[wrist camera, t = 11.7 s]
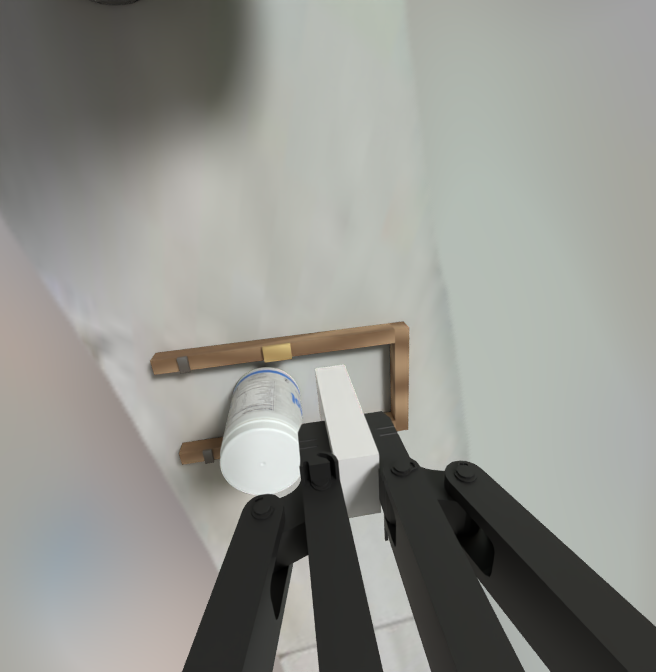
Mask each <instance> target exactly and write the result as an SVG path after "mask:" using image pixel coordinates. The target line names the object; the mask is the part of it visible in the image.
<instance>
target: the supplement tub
mask: <svg viewBox="0 0 656 672" xmlns="http://www.w3.org/2000/svg"><path fill="white" fill-rule="evenodd" d="M302 424H303V417H302V408H301V398H300V391H299V388H298V385H297V383H296V382H295V380H294V379H293V378H292V377H291V376H290V375H289V374H288V373H286V372H284V371H283V370H280V369H277V368H272V367H262V368H257V369H254V370H251V371H249V372H248V373H246V374H245V375H244V376H243V377H242V378H241V379H240V380H239V381H238V383H237V384H236V386H235V389H234V393H233V397H232V401H231V405H230V410H229V414H228V419H227V423H226V427H225V432H224V436H223V441H222V446H221V450H220V469H221V472H222V474H223V476H224V478H225V479H226V481H227V482H228V483H229V484H230V485H231V486H233V487H234V488H236V489H237V490H239V491H242V492H244V493H247V494H252V495H262V494H274V493H277V492H280V491H282V490H284V489H286V488H288V487H290V486H291V485H292V484H293V483H295V482H296V481H297V479H298V478H299V477H300V469H299V466H300V453H299V442H298V431H299V429H300V427H301V425H302Z"/></svg>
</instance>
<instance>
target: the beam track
mask: <svg viewBox="0 0 656 672" xmlns="http://www.w3.org/2000/svg"><path fill="white" fill-rule="evenodd" d="M383 344H390V383H391V412H385V414H386V415H387V416H389V417H390V418H391V420H392V422H393V425H394V427H395V429H396V431H402V430H408V397H409V327H408V326H407V325H406V324H405V323H404V322H396V323H388V324H380V325H372V326H364V327H356V328H349V329H341V330H333V331H325V332H317V333H309V334H301V335H293V336H285V337H277V338H270V339H262V340H254V341H246V342H238V343H230V344H222V345H214V346H206V347H199V348H191V349H183V350H175V351H167V352H159V353H155V355H154V356H153V358H152V359H151V360H150V362H151V366H152V369H153V372H154V375H156V374H164V373H171V372H179V371H180V373H187V372H190V371H191V370H194V369H202V368H209V367H217V366H224V365H232V364H240V363H247V362H255V361H262V360H264V361H265V362H273V361H280V360H288V359H292V357H293V356H300V355H308V354H315V353H323V352H330V351H338V350H346V349H353V348H361V347H368V346H376V345H383ZM222 441H223V437H218V438H212V439H205V440H198V441H192V442H185V443H183V444H182V446H181V449H180V452H179V456H180V459H181V462H182V465H183V464H189V463H196V462H202V461H205V464H206V463H212V462H214V460H215V459H220V450H221V446H222Z"/></svg>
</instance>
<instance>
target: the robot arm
mask: <svg viewBox="0 0 656 672" xmlns="http://www.w3.org/2000/svg"><path fill="white" fill-rule="evenodd" d="M91 1H94V2H98V3H103V4H111V5H120V4H128V3H132V2H136V1H138V0H91ZM315 374H316V383H317V393H318V402H319V411H320V418H321V421H319V422H312V423H306V424H302V425H301V427H300V429H299V431H298V442H299V453H300V466H299V469H300V476H301V482H300V484H299V486H298V487H297V488H296V489H295V490H294V491H293V492H292V493H290V494H288V495H286V496H284V497H282V498H279V497H277V496H276V495H272V494H262V495H258V496H256V497H254V498H252V499H251V500H250V501H249V502H248V503H247V504H246V505H245V507H244V509H243V511H242V513H241V516H240V519H239V521H238V524H237V527H236V529H235V532H234V535H233V537H232V540H231V543H230V545H229V548H228V551H227V553H226V556H225V559H224V561H223V564H222V567H221V569H220V572H219V575H218V577H217V580H216V583H215V585H214V588H213V591H212V593H211V596H210V599H209V602H208V604H207V607H206V609H205V612H204V615H203V617H202V620H201V623H200V625H199V628H198V631H197V633H196V636H195V639H194V641H193V644H192V647H191V649H190V652H189V655H188V657H187V660H186V663H185V665H184V668H183V671H182V672H272V671H273V666H274V660H275V655H276V650H277V645H278V640H279V635H280V629H281V624H282V619H283V614H284V609H285V604H286V598H287V593H288V588H289V583H290V578H291V572H292V567H293V563H294V562H296V561H298V560H299V559H301V558H303V557H305V556H307V555H308V556H309V567H310V577H311V588H312V599H313V609H314V620H315V631H316V641H317V652H318V663H319V672H383V669H382V664H381V660H380V655H379V651H378V646H377V642H376V637H375V633H374V629H373V624H372V620H371V615H370V611H369V606H368V602H367V597H366V593H365V588H364V584H363V580H362V575H361V571H360V566H359V562H358V557H357V553H356V548H355V544H354V540H353V535H352V531H351V526H350V522H349V518H352V517H358V516H363V515H369V514H375V513H380V512H381V506H382V509H383V512H384V531H385V541H387V540H388V537H389V541H390V544H391V547H392V550H393V553H394V556H395V559H396V563H397V566H398V569H399V572H400V575H401V578H402V581H403V585H404V588H405V591H406V594H407V597H408V600H409V603H410V606H411V610H412V613H413V616H414V619H415V622H416V625H417V628H418V632H419V635H420V638H421V641H422V644H423V647H424V650H425V654H426V657H427V660H428V663H429V666H430V669H431V672H525V671H524V669H523V667H522V665H521V663H520V661H519V659H518V657H517V655H516V653H515V651H514V649H513V647H512V645H511V643H510V641H509V639H508V638H507V636H506V634H505V632H504V630H503V628H502V626H501V624H500V622H499V620H498V618H497V616H496V614H495V612H494V610H493V608H492V606H491V604H490V602H489V600H488V598H487V596H486V594H485V592H484V590H483V589H482V587H481V585H480V583H479V581H480V582H481V583H482V584H483V586H484V587H485V588H486V590H487V591H488V592H489V593H490V595H491V596H492V597H493V599H494V600H495V601H496V602H497V604H498V605H499V606H500V607H501V609H502V610H503V611H504V613H505V614H506V615H507V616H508V618H509V619H510V620H511V621H512V623H513V624H514V625H515V627H516V628H517V629H518V631H519V632H520V633H521V634H522V636H523V637H524V638H525V640H526V641H527V642H528V643H529V645H530V646H531V647H532V648H533V650H534V651H535V652H536V653H537V655H538V656H539V657H540V659H541V660H542V661H543V663H544V664H545V665H546V666H547V667H548V669H549V670H550V672H656V627H655V626H654V625H653V624H652V623H651V622H650V621H649V620H648V619H647V618H646V617H644V616H643V615H642V614H641V613H640V612H639V611H638V610H637V609H636V608H634V607H633V606H632V605H631V604H630V603H629V602H628V601H627V600H625V598H623V597H622V596H621V595H620V594H619V593H618V592H617V591H616V590H615V589H614V588H612V587H611V586H610V585H609V584H608V583H607V582H606V581H605V580H603V579H602V578H601V577H600V576H599V575H598V574H597V573H596V572H595V571H594V570H592V569H591V568H590V567H589V566H588V565H587V564H586V563H585V562H584V561H583V560H582V559H580V558H579V557H578V556H577V555H576V554H575V553H574V552H573V551H572V550H571V549H569V548H568V547H567V546H566V545H565V544H564V543H563V542H562V541H561V540H559V539H558V538H557V537H556V536H555V535H554V534H553V533H552V532H550V530H548V529H547V528H546V527H545V526H544V525H543V524H542V523H540V521H538V520H537V519H536V518H535V517H534V516H533V515H532V514H531V513H530V512H529V511H527V510H526V509H525V508H524V507H523V506H522V505H521V504H520V503H519V502H517V501H516V500H515V499H514V498H513V497H512V496H511V495H510V494H509V493H508V492H507V491H505V490H504V489H503V488H502V487H501V486H500V485H499V484H498V483H496V481H494V480H493V479H492V478H491V477H490V476H489V475H488V474H487V473H485V472H484V471H483V470H482V469H481V468H480V467H478V466H477V465H475V464H473V463H470V462H467V461H455V462H452V463H450V464H449V465H447V467H446V469H445V471H438V470H430V469H425V468H423V467H420V465H419V464H418V463H417V462H416V461H415V460H413V459H411V458H410V457H409V455H408V453H407V451H406V449H405V447H404V445H403V443H402V441H401V439H400V437H399V435H398V434H397V431H396V429H395V427H394V425H393V422H392V420H391V418H390V417H389V416H387V415H386V414H385V413H384V412H382V411H380V412H374V413H367V414H363V411H362V408H361V406H360V403H359V401H358V398H357V395H356V393H355V390H354V388H353V385H352V382H351V380H350V377H349V375H348V372H347V370H346V367H345V364H344V365H336V366H329V367H322V368H315ZM477 578H478V579H479V581H478V579H477Z"/></svg>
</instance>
